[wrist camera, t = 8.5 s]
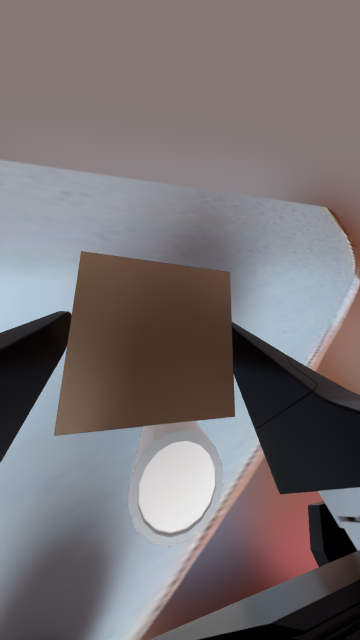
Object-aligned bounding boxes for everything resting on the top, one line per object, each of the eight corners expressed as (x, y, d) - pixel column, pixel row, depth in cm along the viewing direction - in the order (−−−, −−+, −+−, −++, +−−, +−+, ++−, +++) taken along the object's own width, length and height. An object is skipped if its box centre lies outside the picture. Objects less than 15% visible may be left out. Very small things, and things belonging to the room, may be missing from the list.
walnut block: (170, 357, 16) (234, 416, 4) (132, 358, 16) (53, 435, 3) (171, 321, 17) (229, 272, 5) (135, 319, 16) (81, 251, 4)
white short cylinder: (199, 444, 16) (233, 517, 10) (142, 467, 15) (135, 573, 8) (188, 387, 17) (213, 418, 10) (133, 403, 16) (120, 451, 9)
